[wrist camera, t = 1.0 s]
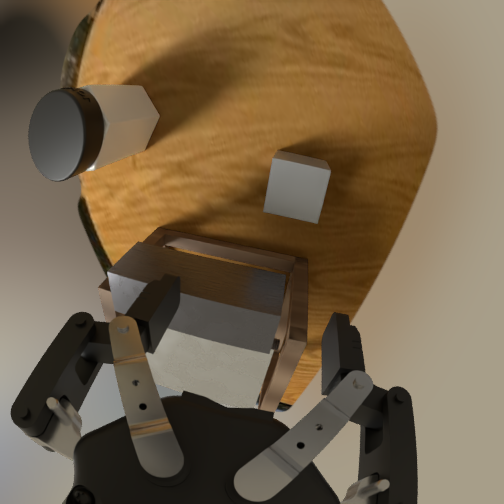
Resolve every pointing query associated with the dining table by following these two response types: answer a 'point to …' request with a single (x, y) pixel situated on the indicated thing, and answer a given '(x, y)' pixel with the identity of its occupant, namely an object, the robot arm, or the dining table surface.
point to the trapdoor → (207, 321)
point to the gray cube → (296, 186)
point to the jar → (89, 128)
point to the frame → (292, 307)
